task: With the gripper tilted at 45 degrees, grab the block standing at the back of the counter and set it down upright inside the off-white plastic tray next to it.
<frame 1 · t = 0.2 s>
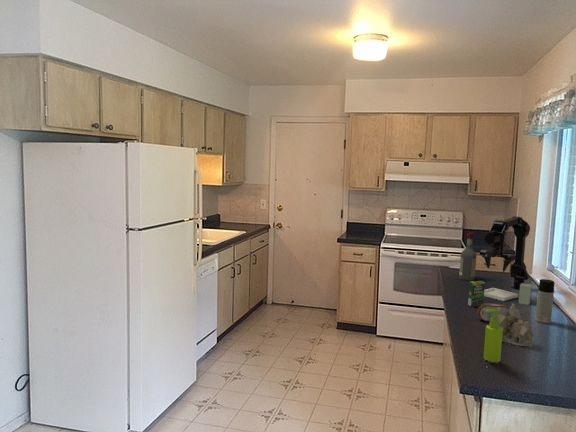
hand: (495, 270, 274), 15 cm above the counter, tool pointing down, fingers open, 9 cm apart
liquor: (466, 279, 312), on the counter
tin: (493, 321, 230), on the counter
spray can: (542, 321, 232), on the counter
block: (524, 302, 262), on the counter
coffee box: (475, 306, 254), on the counter
tray: (498, 296, 274), on the counter
soap dispenser: (490, 361, 183), on the counter
grey brown jagged piece: (508, 340, 206), on the counter
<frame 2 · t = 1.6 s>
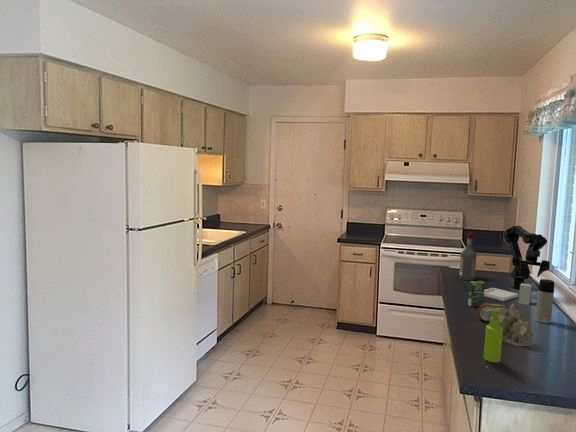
hand: (528, 275, 267), 13 cm above the counter, tool tilted 45°, fingers open, 9 cm apart
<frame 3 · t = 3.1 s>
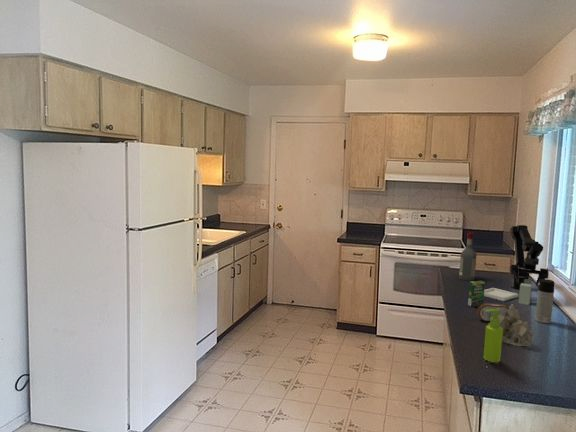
hand: (526, 284, 263), 10 cm above the counter, tool tilted 45°, fingers open, 9 cm apart
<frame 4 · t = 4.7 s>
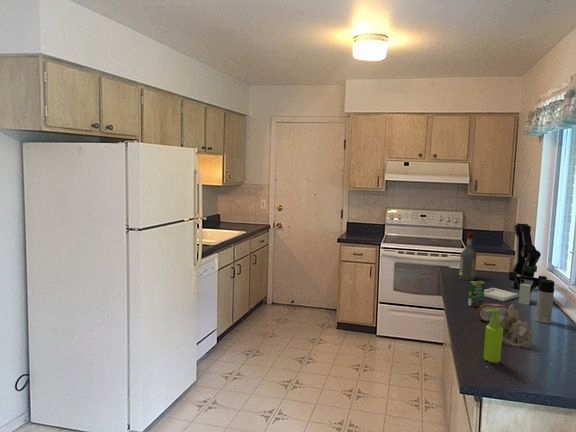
hand: (524, 291, 260), 7 cm above the counter, tool tilted 45°, fingers closed on block, 5 cm apart
block: (524, 302, 262), on the counter, touching gripper
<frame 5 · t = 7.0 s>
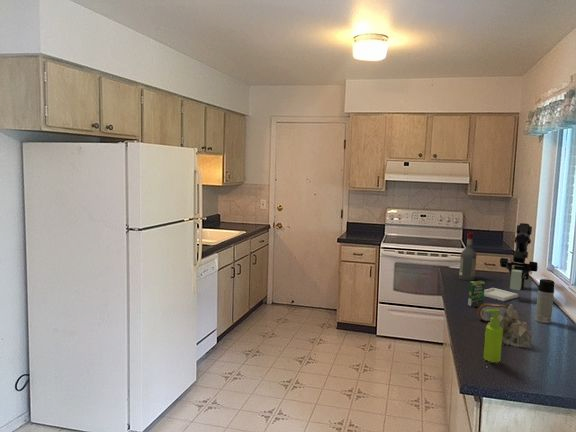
hand: (516, 277, 264), 13 cm above the counter, tool tilted 45°, fingers closed on block, 5 cm apart
block: (515, 288, 266), point 7 cm above the counter, touching gripper
when the fingers open (8 cm above the counter, at t = 9.4 s): block drops 1 cm, resting on tray.
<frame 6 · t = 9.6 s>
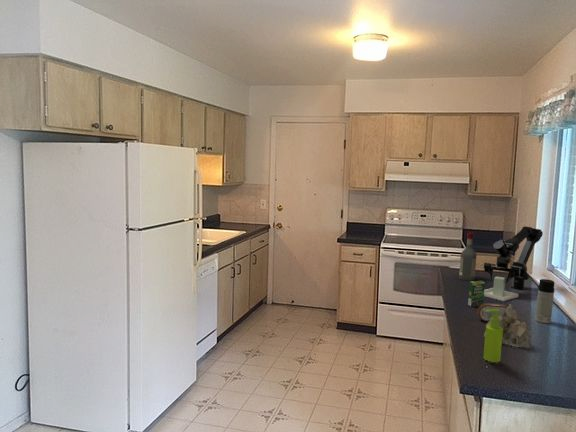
hand: (498, 281, 272), 9 cm above the counter, tool tilted 45°, fingers open, 7 cm apart
block: (498, 295, 274), point 1 cm above the counter, touching tray
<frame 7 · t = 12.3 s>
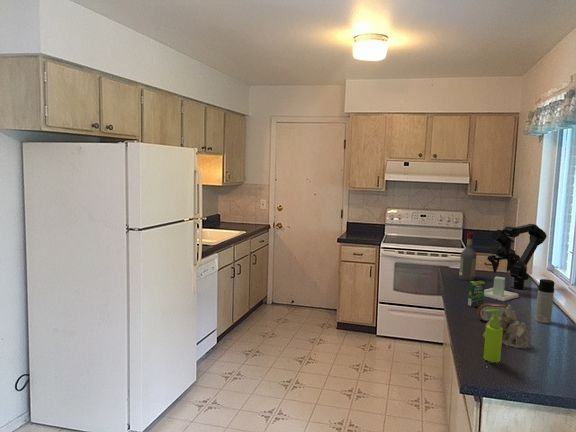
hand: (500, 271, 278), 13 cm above the counter, tool tilted 30°, fingers open, 9 cm apart
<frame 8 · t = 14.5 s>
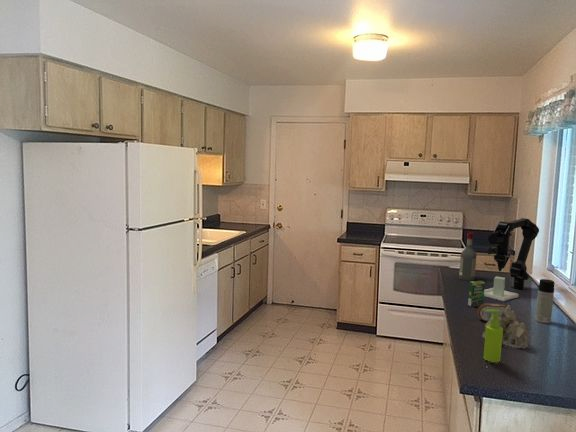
hand: (501, 269, 282), 13 cm above the counter, tool pointing down, fingers open, 9 cm apart
at the end: block inside the target area on the tray (0.0 cm from its centre), point 0.5 cm above the tray's base; block tilted 0°; the gripper is holding nothing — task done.
